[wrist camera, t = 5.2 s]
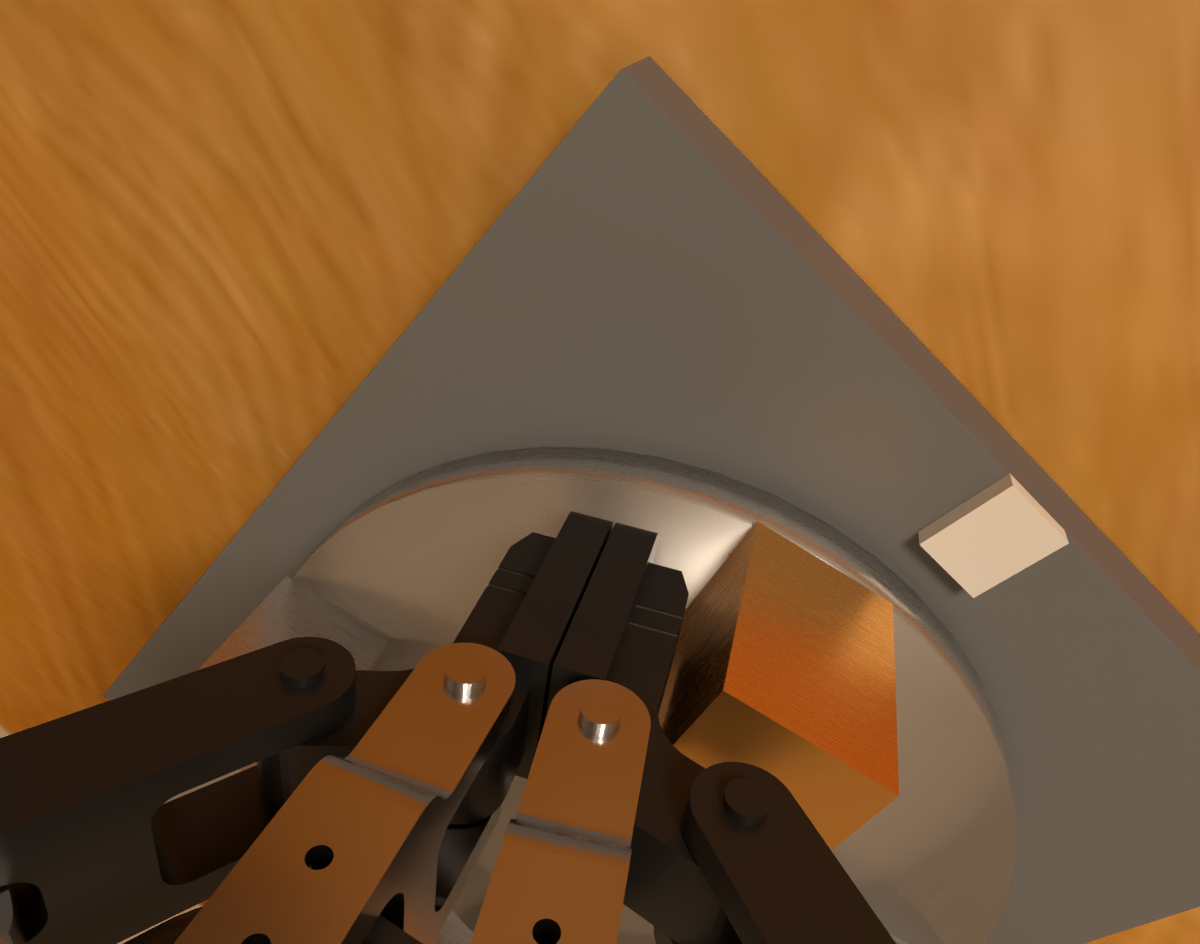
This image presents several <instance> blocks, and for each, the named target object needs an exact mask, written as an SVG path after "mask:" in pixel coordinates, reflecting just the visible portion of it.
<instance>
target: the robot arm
mask: <svg viewBox="0 0 1200 944" xmlns="http://www.w3.org/2000/svg"><path fill="white" fill-rule="evenodd" d="M658 536H659V533H655V532H651V531H648V530H644V529H640V528H636V527H632V526H628V525H624V524H620V523H617V522H616V523H615V525H614V522H612V521H608V520H604V519H600V518H597V517H593V516H589V515H585V514H581V513H577V512H573V511H571V512H570V513H569V515H568V516H567V518H566V520H565V522H564V524H563V526H562V528H561V530H560V532H559V534H558V535H557V537H556V538H554V537H550V536H546V535H542V534H538V533H535V532H532V533H531V534H529V535H528V536H526V537H524V538H523V539H521V540H520V541H518V542H517V543H515V544H514V545H512V546H510V548H509V550H508V551H507V553H506V555H505V556H504V558H503V560H502V561H501V563H500V565H499V567H498V570H496V572H495V573H494V575H493V577H492V578H491V580H490V582H489V585H488V587H486V588H485V590H484V592H483V593H482V595H481V597H480V598H479V600H478V602H477V603H476V605H475V607H474V608H473V610H472V612H471V613H470V615H469V617H468V618H467V620H466V622H465V624H464V625H463V627H462V629H461V630H460V632H459V634H458V635H457V637H456V639H455V640H454V642H453V644H449V645H445V646H442V647H439V648H437V649H435V650H433V651H431V652H430V653H429V654H427V655H426V656H425V657H424V658H423V659H422V660H421V661H420V662H419V664H418V665H417V666H416V668H414V669H410V670H402V671H370V670H356V665H355V661H354V659H353V657H352V655H351V654H350V652H349V651H348V650H347V649H346V648H344V647H343V646H342V645H340V644H338V643H336V642H335V641H332V640H329V639H325V638H320V637H298V638H292V639H288V640H285V641H281V642H278V643H276V644H273V645H270V646H267V647H264V648H261V649H258V650H255V651H252V652H249V653H247V654H244V655H241V656H238V657H235V658H232V659H229V660H226V661H223V662H220V663H218V664H215V665H212V666H209V667H206V668H203V669H200V670H197V671H194V672H191V673H189V674H186V675H183V676H180V677H177V678H174V679H171V680H168V681H165V682H162V683H160V684H157V685H154V686H151V687H148V688H145V689H142V690H139V691H136V692H133V693H130V694H128V695H125V696H122V697H119V698H116V699H113V700H110V701H107V702H104V703H101V704H99V705H96V706H93V707H90V708H87V709H84V710H81V711H78V712H75V713H72V714H70V715H67V716H64V717H61V718H58V719H55V720H52V721H49V722H46V723H43V724H41V725H38V726H35V727H32V728H29V729H26V730H23V731H20V732H17V733H14V734H12V735H9V736H6V737H3V738H0V944H117V943H119V942H121V941H123V940H125V939H127V938H129V937H131V936H133V935H135V934H137V933H139V932H141V931H143V930H145V929H147V928H149V927H151V926H153V925H155V924H158V923H160V922H162V921H164V920H166V919H168V918H170V917H172V916H174V915H176V914H178V913H180V912H182V911H184V910H186V909H189V908H191V907H192V906H195V905H197V904H199V903H201V902H203V901H205V900H207V899H209V900H208V901H207V902H206V903H205V905H204V906H203V907H200V908H197V909H194V910H191V911H189V912H187V913H184V914H181V915H179V916H176V917H174V918H172V919H170V920H168V921H166V922H164V923H162V924H160V925H158V926H156V927H154V928H152V929H150V930H148V931H146V932H145V933H143V934H141V935H139V936H137V937H135V938H133V939H131V940H129V941H127V942H125V943H124V944H436V942H437V939H438V937H439V934H440V932H441V929H442V927H443V925H444V923H445V921H446V919H447V917H448V916H449V914H450V912H451V910H452V908H453V906H454V904H455V902H456V900H457V898H458V897H459V895H460V893H461V891H462V889H463V887H464V885H465V883H466V881H467V879H468V878H469V876H470V874H471V872H472V870H473V868H474V866H475V864H476V862H477V860H478V859H479V857H480V855H481V853H482V851H483V849H484V847H485V845H486V843H487V841H488V840H489V838H490V836H491V834H492V832H493V830H494V828H495V826H496V824H497V822H498V820H499V817H500V812H501V804H502V803H503V801H504V799H505V797H506V795H507V792H508V790H509V788H510V785H511V783H512V781H513V778H514V776H515V775H516V776H519V777H522V778H526V779H527V782H526V785H525V789H524V792H523V795H522V798H521V802H520V805H519V808H518V811H517V814H516V817H515V819H511V820H510V822H509V824H508V826H507V829H506V832H505V835H504V838H503V841H502V844H501V847H500V850H499V853H498V857H497V860H496V863H495V866H494V869H493V873H492V876H491V879H490V882H489V885H488V889H487V892H486V895H485V898H484V901H483V905H482V908H481V911H480V914H479V917H478V920H477V924H476V927H475V930H474V933H473V936H472V940H471V943H470V944H616V942H617V936H618V930H619V924H620V918H621V912H622V907H623V904H624V905H625V906H627V907H628V908H630V909H631V910H632V911H634V912H635V913H637V914H638V915H639V916H641V917H642V918H644V919H645V920H646V921H648V922H649V923H651V924H652V925H653V926H654V937H655V942H656V944H896V943H895V941H894V940H893V938H892V937H891V936H890V934H889V933H888V931H887V930H886V928H885V927H884V925H883V924H882V923H881V921H880V920H879V918H878V917H877V915H876V914H875V913H874V911H873V910H872V908H871V907H870V905H869V904H868V903H867V901H866V900H865V898H864V897H863V895H862V894H861V893H860V891H859V890H858V888H857V887H856V885H855V884H854V882H853V881H852V880H851V878H850V877H849V875H848V874H847V872H846V871H845V870H844V868H843V867H842V865H841V864H840V862H839V861H838V860H837V858H836V857H835V855H834V854H833V852H832V851H831V849H830V848H829V847H828V845H827V844H826V842H825V841H824V839H823V838H822V837H821V835H820V834H819V832H818V831H817V829H816V828H815V827H814V825H813V824H812V822H811V821H810V819H809V818H808V817H807V815H806V814H805V812H804V811H803V809H802V808H801V806H800V805H799V804H798V802H797V801H796V799H795V798H794V796H793V795H792V794H791V792H790V791H789V790H788V788H787V787H786V786H785V785H784V784H783V783H782V782H781V781H780V780H779V779H778V778H776V777H775V776H774V775H772V774H771V773H769V772H767V771H765V770H764V769H762V768H759V767H757V766H754V765H751V764H747V763H743V762H722V763H717V764H714V765H712V766H709V767H708V768H704V767H702V766H701V765H699V764H697V763H696V762H694V761H692V760H691V759H689V758H688V757H686V756H685V755H684V754H682V753H681V752H680V751H679V750H677V749H676V748H675V747H674V746H673V745H672V744H671V742H670V741H669V740H668V739H667V737H666V736H665V734H664V732H663V730H662V728H661V726H660V722H659V718H658V714H659V711H660V707H661V703H662V700H663V696H664V692H665V689H666V685H667V681H668V678H669V674H670V670H671V667H672V663H673V659H674V655H675V650H676V646H677V642H678V638H679V634H680V629H681V625H682V621H683V617H684V613H685V608H686V604H687V600H688V596H689V592H688V589H687V586H686V583H685V580H684V577H683V574H682V571H679V570H676V569H672V568H668V567H664V566H660V565H657V564H653V562H654V557H655V553H656V548H657V543H658ZM255 762H257V765H255V766H253V767H251V768H248V769H246V770H243V771H241V772H239V773H236V774H234V775H231V776H229V777H227V778H224V779H222V780H219V781H217V782H215V783H212V784H210V785H208V786H205V787H203V788H200V789H198V790H196V791H193V792H191V793H188V794H186V795H184V796H181V797H179V798H176V799H174V800H172V801H169V802H167V803H165V802H166V801H168V800H169V799H171V798H172V797H174V796H176V795H178V794H180V793H183V792H185V791H188V790H190V789H192V788H195V787H197V786H200V785H202V784H204V783H207V782H209V781H212V780H214V779H217V778H219V777H221V776H224V775H226V774H229V773H231V772H233V771H236V770H238V769H241V768H243V767H245V766H248V765H250V764H253V763H255Z"/></svg>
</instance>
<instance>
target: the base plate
mask: <svg viewBox="0 0 1200 944" xmlns="http://www.w3.org/2000/svg"><path fill="white" fill-rule="evenodd" d="M537 447H577V448H604V449H611V450H617V451H624V452H630V453H637V454H644V455H650V456H657V457H662V458H666V459H670V460H673V461H677V462H681V463H684V464H688V465H692V466H695V467H699V468H703V469H707V470H710V471H714V472H718V473H720V474H723V475H726V476H728V477H731V478H733V479H736V480H738V481H741V482H743V483H746V484H748V485H751V486H753V487H756V488H758V489H761V490H763V491H766V492H769V493H771V494H774V495H776V496H778V497H780V498H781V499H783V500H785V501H787V502H789V503H791V504H793V505H795V506H796V507H798V508H800V509H802V510H804V511H806V512H808V513H810V514H811V515H813V516H815V517H817V518H819V519H821V520H823V521H825V522H826V523H828V524H830V525H831V526H833V527H834V528H836V529H837V530H838V531H840V532H841V533H843V534H844V535H846V536H847V537H848V538H850V539H851V540H853V541H854V542H856V543H857V544H859V545H860V546H861V547H863V548H864V549H866V550H867V551H869V552H870V553H872V554H873V555H874V556H876V557H877V558H878V559H879V560H880V561H882V562H883V563H884V564H885V565H886V566H887V567H888V568H889V569H891V570H892V571H893V572H894V573H895V574H896V575H897V576H898V577H899V578H901V579H902V580H903V581H904V582H905V583H906V584H907V585H908V586H909V587H911V588H912V589H913V590H914V591H915V592H916V593H917V594H918V595H919V596H920V597H921V598H922V599H923V600H924V602H925V603H926V604H927V605H928V606H929V607H930V609H931V610H932V611H933V612H934V613H935V614H936V616H937V617H938V618H939V619H940V620H941V621H942V623H943V624H944V625H945V626H946V627H947V628H948V630H949V631H950V632H951V633H952V634H953V636H954V637H955V639H956V640H957V642H958V643H959V645H960V647H961V648H962V650H963V651H964V653H965V655H966V656H967V658H968V659H969V661H970V663H971V664H972V666H973V667H974V669H975V670H976V672H977V674H978V675H979V677H980V679H981V681H982V684H983V686H984V688H985V691H986V693H987V695H988V698H989V700H990V702H991V705H992V707H993V709H994V712H995V714H996V717H997V719H998V723H999V727H1000V731H1001V736H1002V740H1003V744H1004V748H1005V753H1006V757H1007V762H1008V768H1009V774H1010V780H1011V786H1012V791H1013V797H1014V803H1015V809H1016V832H1017V856H1016V861H1015V867H1014V873H1013V878H1012V884H1011V890H1010V892H1009V894H1008V897H1007V899H1006V902H1005V904H1004V907H1003V909H1002V912H1001V914H1000V917H999V919H998V921H997V924H996V925H995V927H994V928H993V930H992V931H991V933H990V934H989V936H988V937H987V939H986V940H985V942H984V943H983V944H1083V943H1087V942H1090V941H1093V940H1096V939H1099V938H1102V937H1105V936H1108V935H1112V934H1115V933H1118V932H1121V931H1124V930H1127V929H1130V928H1133V927H1137V926H1140V925H1143V924H1146V923H1149V922H1152V921H1155V920H1158V919H1162V918H1165V917H1168V916H1171V915H1174V914H1177V913H1180V912H1183V911H1187V910H1190V909H1193V908H1196V907H1199V906H1200V634H1199V633H1198V632H1197V631H1196V630H1195V629H1194V628H1193V627H1192V626H1191V625H1190V624H1189V623H1188V622H1187V621H1186V620H1185V618H1184V617H1183V616H1182V615H1181V614H1180V613H1179V612H1178V611H1177V610H1176V609H1175V608H1174V607H1173V606H1172V605H1171V604H1170V603H1169V602H1168V601H1167V600H1166V599H1165V597H1164V596H1163V595H1162V594H1161V593H1160V592H1159V591H1158V590H1157V589H1156V588H1155V587H1154V586H1153V585H1152V584H1151V583H1150V582H1149V581H1148V580H1147V579H1146V577H1145V576H1144V575H1143V574H1142V573H1141V572H1140V571H1139V570H1138V569H1137V568H1136V567H1135V566H1134V565H1133V564H1132V563H1131V562H1130V561H1129V560H1128V559H1127V558H1126V556H1125V555H1124V554H1123V553H1122V552H1121V551H1120V550H1119V549H1118V548H1117V547H1116V546H1115V545H1114V544H1113V543H1112V542H1111V541H1110V540H1109V539H1108V538H1107V537H1106V535H1105V534H1104V533H1103V532H1102V531H1101V530H1100V529H1099V528H1098V527H1097V526H1096V525H1095V524H1094V523H1093V522H1092V521H1091V520H1090V519H1089V518H1088V517H1087V515H1086V514H1085V513H1084V512H1083V511H1082V510H1081V509H1080V508H1079V507H1078V506H1077V505H1076V504H1075V503H1074V502H1073V501H1072V500H1071V499H1070V498H1069V497H1068V496H1067V494H1066V493H1065V492H1064V491H1063V490H1062V489H1061V488H1060V487H1059V486H1058V485H1057V484H1056V483H1055V482H1054V481H1053V480H1052V479H1051V478H1050V477H1049V476H1048V475H1047V473H1046V472H1045V471H1044V470H1043V469H1042V468H1041V467H1040V466H1039V465H1038V464H1037V463H1036V462H1035V461H1034V460H1033V459H1032V458H1031V457H1030V456H1029V455H1028V453H1027V452H1026V451H1025V450H1024V449H1023V448H1022V447H1021V446H1020V445H1019V444H1018V443H1017V442H1016V441H1015V440H1014V439H1013V438H1012V437H1011V436H1010V435H1009V434H1008V432H1007V431H1006V430H1005V429H1004V428H1003V427H1002V426H1001V425H1000V424H999V423H998V422H997V421H996V420H995V419H994V418H993V417H992V416H991V415H990V414H989V413H988V411H987V410H986V409H985V408H984V407H983V406H982V405H981V404H980V403H979V402H978V401H977V400H976V399H975V398H974V397H973V396H972V395H971V394H970V393H969V392H968V390H967V389H966V388H965V387H964V386H963V385H962V384H961V383H960V382H959V381H958V380H957V379H956V378H955V377H954V376H953V375H952V374H951V373H950V372H949V370H948V369H947V368H946V367H945V366H944V365H943V364H942V363H941V362H940V361H939V360H938V359H937V358H936V357H935V356H934V355H933V354H932V353H931V352H930V351H929V349H928V348H927V347H926V346H925V345H924V344H923V343H922V342H921V341H920V340H919V339H918V338H917V337H916V336H915V335H914V334H913V333H912V332H911V331H910V330H909V328H908V327H907V326H906V325H905V324H904V323H903V322H902V321H901V320H900V319H899V318H898V317H897V316H896V315H895V314H894V313H893V312H892V311H891V310H890V308H889V307H888V306H887V305H886V304H885V303H884V302H883V301H882V300H881V299H880V298H879V297H878V296H877V295H876V294H875V293H874V292H873V291H872V290H871V289H870V287H869V286H868V285H867V284H866V283H865V282H864V281H863V280H862V279H861V278H860V277H859V276H858V275H857V274H856V273H855V272H854V271H853V270H852V269H851V268H850V266H849V265H848V264H847V263H846V262H845V261H844V260H843V259H842V258H841V257H840V256H839V255H838V254H837V253H836V252H835V251H834V250H833V249H832V248H831V246H830V245H829V244H828V243H827V242H826V241H825V240H824V239H823V238H822V237H821V236H820V235H819V234H818V233H817V232H816V231H815V230H814V229H813V228H812V227H811V225H810V224H809V223H808V222H807V221H806V220H805V219H804V218H803V217H802V216H801V215H800V214H799V213H798V212H797V211H796V210H795V209H794V208H793V207H792V206H791V204H790V203H789V202H788V201H787V200H786V199H785V198H784V197H783V196H782V195H781V194H780V193H779V192H778V191H777V190H776V189H775V188H774V187H773V186H772V185H771V183H770V182H769V181H768V180H767V179H766V178H765V177H764V176H763V175H762V174H761V173H760V172H759V171H758V170H757V169H756V168H755V167H754V166H753V165H752V163H751V162H750V161H749V160H748V159H747V158H746V157H745V156H744V155H743V154H742V153H741V152H740V151H739V150H738V149H737V148H736V147H735V146H734V145H733V144H732V142H731V141H730V140H729V139H728V138H727V137H726V136H725V135H724V134H723V133H722V132H721V131H720V130H719V129H718V128H717V127H716V126H715V125H714V124H713V123H712V121H711V120H710V119H709V118H708V117H707V116H706V115H705V114H704V113H703V112H702V111H701V110H700V109H699V108H698V107H697V106H696V105H695V104H694V103H693V101H692V100H691V99H690V98H689V97H688V96H687V95H686V94H685V93H684V92H683V91H682V90H681V89H680V88H679V87H678V86H677V85H676V84H675V83H674V82H673V80H672V79H671V78H670V77H669V76H668V75H667V74H666V73H665V72H664V71H663V70H662V69H661V68H660V67H659V66H658V65H657V64H656V63H655V62H654V61H653V59H652V58H651V57H650V56H649V57H647V58H645V59H643V60H641V61H638V62H636V63H634V64H632V65H630V66H627V67H625V68H623V69H621V70H620V71H619V73H618V74H617V75H616V76H615V78H614V79H613V80H612V81H611V82H610V84H609V85H608V86H607V87H606V88H605V90H604V91H603V92H602V93H601V94H600V96H599V97H598V98H597V99H596V101H595V102H594V103H593V104H592V105H591V107H590V108H589V109H588V110H587V111H586V113H585V114H584V115H583V116H582V117H581V119H580V120H579V121H578V122H577V123H576V125H575V126H574V127H573V128H572V130H571V131H570V132H569V133H568V134H567V136H566V137H565V138H564V139H563V140H562V142H561V143H560V144H559V145H558V146H557V148H556V149H555V150H554V151H553V152H552V154H551V155H550V156H549V157H548V159H547V160H546V161H545V162H544V163H543V165H542V166H541V167H540V168H539V169H538V171H537V172H536V173H535V174H534V175H533V177H532V178H531V179H530V180H529V181H528V183H527V184H526V185H525V186H524V188H523V189H522V190H521V191H520V192H519V194H518V195H517V196H516V197H515V198H514V200H513V201H512V202H511V203H510V204H509V206H508V207H507V208H506V209H505V210H504V212H503V213H502V214H501V215H500V217H499V218H498V219H497V220H496V221H495V223H494V224H493V225H492V226H491V227H490V229H489V230H488V231H487V232H486V233H485V235H484V236H483V237H482V238H481V240H480V241H479V242H478V243H477V244H476V246H475V247H474V248H473V249H472V250H471V252H470V253H469V254H468V255H467V256H466V258H465V259H464V260H463V261H462V262H461V264H460V265H459V266H458V267H457V269H456V270H455V271H454V272H453V273H452V275H451V276H450V277H449V278H448V279H447V281H446V282H445V283H444V284H443V285H442V287H441V288H440V289H439V290H438V291H437V293H436V294H435V295H434V296H433V298H432V299H431V300H430V301H429V302H428V304H427V305H426V306H425V307H424V308H423V310H422V311H421V312H420V313H419V314H418V316H417V317H416V318H415V319H414V320H413V322H412V323H411V324H410V325H409V327H408V328H407V329H406V330H405V331H404V333H403V334H402V335H401V336H400V337H399V339H398V340H397V341H396V342H395V343H394V345H393V346H392V347H391V348H390V349H389V351H388V352H387V353H386V354H385V356H384V357H383V358H382V359H381V360H380V362H379V363H378V364H377V365H376V366H375V368H374V369H373V370H372V371H371V372H370V374H369V375H368V376H367V377H366V378H365V380H364V381H363V382H362V383H361V385H360V386H359V387H358V388H357V389H356V391H355V392H354V393H353V394H352V395H351V397H350V398H349V399H348V400H347V401H346V403H345V404H344V405H343V406H342V408H341V409H340V410H339V411H338V412H337V414H336V415H335V416H334V417H333V418H332V420H331V421H330V422H329V423H328V424H327V426H326V427H325V428H324V429H323V430H322V432H321V433H320V434H319V435H318V437H317V438H316V439H315V440H314V441H313V443H312V444H311V445H310V446H309V447H308V449H307V450H306V451H305V452H304V453H303V455H302V456H301V457H300V458H299V459H298V461H297V462H296V463H295V464H294V466H293V467H292V468H291V469H290V470H289V472H288V473H287V474H286V475H285V476H284V478H283V479H282V480H281V481H280V482H279V484H278V485H277V486H276V487H275V488H274V490H273V491H272V492H271V493H270V495H269V496H268V497H267V498H266V499H265V501H264V502H263V503H262V504H261V505H260V507H259V508H258V509H257V510H256V511H255V513H254V514H253V515H252V516H251V517H250V519H249V520H248V521H247V522H246V524H245V525H244V526H243V527H242V528H241V530H240V531H239V532H238V533H237V534H236V536H235V537H234V538H233V539H232V540H231V542H230V543H229V544H228V545H227V546H226V548H225V549H224V550H223V551H222V553H221V554H220V555H219V556H218V557H217V559H216V560H215V561H214V562H213V563H212V565H211V566H210V567H209V568H208V569H207V571H206V572H205V573H204V574H203V576H202V577H201V578H200V579H199V580H198V582H197V583H196V584H195V585H194V586H193V588H192V589H191V590H190V591H189V592H188V594H187V595H186V596H185V597H184V598H183V600H182V601H181V602H180V603H179V605H178V606H177V607H176V608H175V609H174V611H173V612H172V613H171V614H170V615H169V617H168V618H167V619H166V620H165V621H164V623H163V624H162V625H161V626H160V627H159V629H158V630H157V631H156V632H155V634H154V635H153V636H152V637H151V638H150V640H149V641H148V642H147V643H146V644H145V646H144V647H143V648H142V649H141V650H140V652H139V653H138V654H137V655H136V656H135V658H134V659H133V660H132V661H131V663H130V664H129V665H128V666H127V667H126V669H125V670H124V671H123V672H122V673H121V675H120V676H119V677H118V678H117V679H116V681H115V682H114V683H113V684H112V685H111V687H110V688H109V689H108V690H107V692H106V693H105V694H104V695H103V696H105V697H106V698H107V699H108V700H113V699H116V698H119V697H122V696H125V695H128V694H130V693H133V692H136V691H139V690H142V689H145V688H148V687H151V686H154V685H157V684H160V683H162V682H165V681H168V680H171V679H174V678H177V677H180V676H183V675H186V674H189V673H191V672H194V671H197V670H198V669H199V668H200V667H201V666H202V665H203V664H204V663H205V662H206V661H207V660H208V659H209V658H210V657H211V656H212V655H213V653H214V652H215V651H216V650H217V649H218V648H219V647H220V646H221V645H222V644H223V643H224V642H225V641H226V640H227V639H228V638H229V636H230V635H231V634H232V633H233V632H234V631H235V630H236V629H237V628H238V627H239V626H240V625H241V624H242V623H243V622H244V621H245V619H246V618H247V617H248V616H249V615H250V614H251V613H252V612H253V611H254V610H255V609H256V608H257V607H258V606H259V605H260V604H261V603H262V601H263V600H264V599H265V598H266V597H267V596H268V595H269V594H270V593H271V592H272V591H273V590H274V589H275V588H276V587H277V586H278V584H279V583H280V582H281V581H282V580H283V579H284V578H285V577H286V576H287V577H289V578H291V579H292V578H293V577H294V576H295V575H296V573H297V572H298V571H299V570H300V568H301V567H302V566H303V565H304V564H305V562H306V561H307V560H308V559H309V557H310V556H311V555H312V554H313V553H314V552H315V551H316V550H317V549H318V548H319V547H320V546H321V545H322V544H323V542H324V541H325V540H326V539H327V538H328V537H329V536H330V535H331V534H332V533H333V532H334V531H335V530H336V529H337V527H338V526H339V525H340V524H342V523H343V522H344V521H345V520H346V519H347V518H349V517H350V516H351V515H352V514H353V513H355V512H356V511H357V510H358V509H359V508H360V507H362V506H363V505H364V504H365V503H366V502H368V501H369V500H370V499H372V498H374V497H375V496H377V495H379V494H380V493H382V492H384V491H386V490H387V489H389V488H391V487H392V486H394V485H396V484H397V483H399V482H401V481H403V480H404V479H406V478H409V477H411V476H414V475H417V474H419V473H422V472H424V471H427V470H429V469H432V468H434V467H437V466H440V465H442V464H445V463H447V462H452V461H456V460H460V459H464V458H469V457H473V456H477V455H482V454H486V453H490V452H495V451H505V450H516V449H526V448H537Z"/></svg>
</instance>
